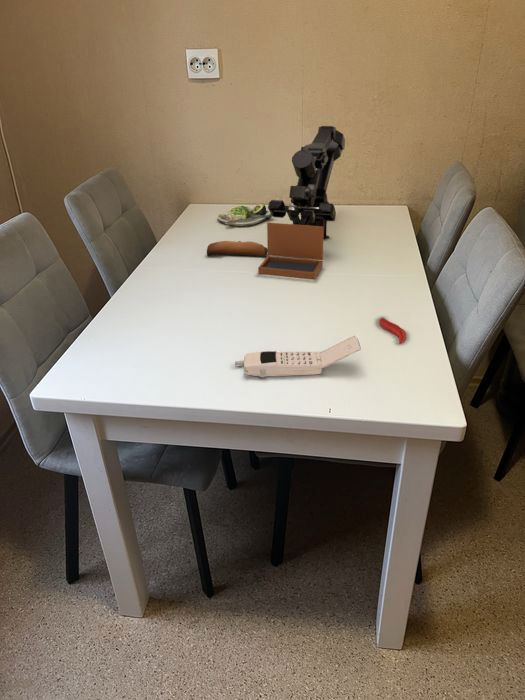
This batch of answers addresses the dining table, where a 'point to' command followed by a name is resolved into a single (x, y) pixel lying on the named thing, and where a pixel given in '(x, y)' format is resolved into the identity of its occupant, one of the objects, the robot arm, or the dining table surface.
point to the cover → (295, 240)
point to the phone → (291, 266)
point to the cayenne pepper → (393, 329)
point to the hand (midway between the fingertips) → (296, 237)
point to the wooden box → (290, 273)
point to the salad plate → (244, 215)
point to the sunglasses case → (236, 248)
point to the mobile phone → (296, 360)
